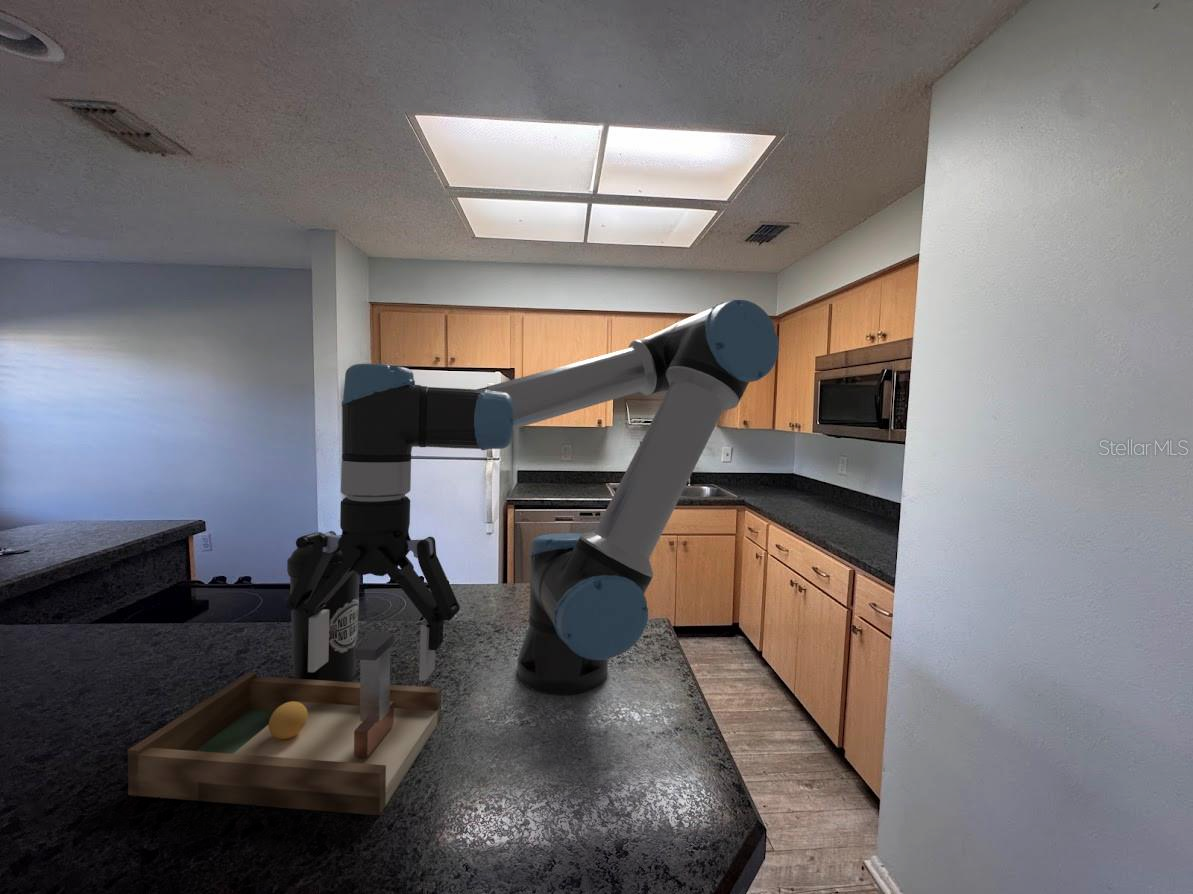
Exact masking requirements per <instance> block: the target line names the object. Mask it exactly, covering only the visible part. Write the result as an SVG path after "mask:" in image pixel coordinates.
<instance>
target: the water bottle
mask: <svg viewBox="0 0 1193 894" xmlns="http://www.w3.org/2000/svg"><path fill="white" fill-rule="evenodd" d="M321 534H324V533H323V532H321V531H318V532H313V533H309V534H306V535H302V536H300V537H298V538H297V539H296V541H295V545H296V549H294V551H293V552H292V554H291V555H290V557H288V559H287V561H286V562H287V563H286V564H287V565H286V568H287V571H286V572H287V576H289V583H290V584H289V585H290V595H291V594H292V592H293V590H294V588H295V586H296V584H297V582H298V580H299V578H300V576H301V574H302V572H303V570H304V569H305V567H306V565H307V563H308V561H309V559H310V557H311V555H312V552H313V545H314V539H315V537H316V536H318V535H321ZM338 535H339V536H341V535H342V534H338ZM344 559H345V557H344V555H343V554H342V552H341V551H340V549H339V547H338V548H337V550H336V551H334V553H333V555H332V557H331V559H330V561H329V563H328V565H327V567H326V569H325V571H324V573H323V575H322V577H321V579H320V580H319V582H318V584H317V586H316V588H315V590H314V592H313V594H312V596H313V595H314V594H315V593H316V592H317V591H318V589H319V588H320V587H321V586H322V585H323V584H324V583H325V582H326V580H327V579H328V578H329V577H330V576H331V575H332V574H333V573H334V570H335V569H336V568H337V566H338V565H339V564H340V563H341V562H342V561H343V560H344ZM359 594H360V575H358V573H357V572H354V573H353V574H352V575H351V576H350V577H349V578H348V579H347V580H346V582H345V583H344V584H343V585H342V586H341V587H340V588H339V589H338V590H337V592H336V593H335V594H334V595H333V596H332V597H331V598H330V599H329V601H328V602H327V603H326V604H325V605H326V606H324V607H323V608H321V611H322V610H329V657H328V662H327V663H325V664H324V665H323V666H322V667H320V668H319V669H318V670H316V671H315V672H308V641H304V639H303V616H302V614H301V612H299V611H297V610H295V609H294V610H290V612H291V613H290V614H291V615H290V616H291V640H292V641H291V644H292V671H293V672H292V674H293V679H309V680H324V681H340V682H352V680H353V679H354V678H355V676H356V671H357V669H356V668H357V659H355V649H356V648H358V647H357V646H358V645H357V644H358V631H359V630H358V627H359V626H358V625H359V609H360V608H359V605H360V604H359V603H360V601H359V600H360V599H359V597H360V595H359ZM312 596H311V597H312Z"/></svg>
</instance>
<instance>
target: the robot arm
mask: <svg viewBox="0 0 1193 894" xmlns="http://www.w3.org/2000/svg"><path fill="white" fill-rule="evenodd" d="M775 328H776V326H775V324H774V322H773V320H772V319H771V317H770V315H769V314H768V313H767V312H766V311H765V310H764V309H763V308H762V306H761V307H760V306H759V305H758V304H756V303H755V302H752V301H750V300H746V299H732V300H730V301H725V302H723V301H722V302H719V303H717V304H715V305H713V306H712V307H711V308H709V309H707V310H704V311H701V312H699V313H696V314H695V315H691V316H689V317H687V318H684V319H682V320H679V321H678V322H676V323H674V324H672V325H671V326H669V327H666V328H664V329H662V330H660V331H658V332H655V333H653V334H651V335H649V336H646V337H642V338H638V339H635V340H633V341H631V342H630V344H629V345H628V348H625V349H621V350H617V351H614V352H610V353H607V354H603V355H598V356H596V357H592V358H589V359H584V360H580V361H577V362H574V363H569V364H567V365H566V364H565V365H561V366H558V367H555V368H554V367H553V368H552V369H551V368H550V369H547V370H544V371H541V372H536V373H532V374H528V375H525V376H522V377H521V376H520V377H518V378H513V379H511V380H507V381H503V382H499V383H495V384H492V385H489V386H486V387H481V388H477V389H474V388H458V387H457V388H456V387H438V386H437V387H435V386H434V387H433V386H427V385H426V386H425V385H421V384H420V385H419V384H416V381H415V378H414V373H413V371H412V370H411V369H409V368H407V367H403V366H399V365H389V364H379V363H357V364H353V365H350V366H349V368H347V369H346V371H345V374H344V386H343V387H344V388H343V399H342V401H341V406H342V409H341V411H342V412H341V413H342V414H341V416H342V417H341V419H342V420H341V421H342V425H341V426H342V427H341V428H342V430H341V434H342V435H341V437H342V439H341V440H342V441H341V442H342V443H341V445H342V446H341V447H342V448H341V449H342V450H341V453H342V454H341V468H340V469H341V473H340V474H341V475H340V493H341V494H342V495H344V496H346V497H344V498H343V499H342V500H341V501H340V515H339V516H340V520H339V521H340V522H339V523H340V524H339V525H340V526H339V527H340V529H341V530H342V533H341V534H337V533H336V532H335V531H333V530H330V531H326V532H324V533H323V534H321V535H318V536H316V537H315V539H314V545H313V552H312V555H311V557H310V559H309V561H308V563H307V565H306V567H305V569H304V570H303V572H302V574H301V576H300V578H299V580H298V582H297V584H296V586H295V588H294V590H293V592H292V594H291V593H290V595H289V597H288V600H287V602H286V605H285V606H286V609H287V610H288V611H291V610H294V609H295V610H297V611H299V612H301V614H302V616H303V639H304V641H308V672H315V671H316V670H318V669H319V668H320V667H322V666H323V665H324V664H325V663H327V662H328V657H329V610H322V611H321V608H323V607H324V606H326V605H325V604H326V603H327V602H328V601H329V599H330V598H331V597H332V596H333V595H334V594H335V593H336V592H337V590H338V589H339V588H340V587H341V586H342V585H343V584H344V583H345V582H346V580H347V579H348V578H349V577H350V576H351V575H352V574H353V573H354V572H357V573H358V575H359V576H361V575H362V576H366V575H373V576H375V577H384V576H386V575H388V577H389V578H390V579H391V580H392V581H393V582H395V583H396V584H398V585H399V587H400V588H401V589H402V591H403V593H405V594H406V596H407V597H408V598H409V600H410V601H411V603H412V604H413V605H414V607H415V608H416V609H417V610H418V612H419V613H420V615H422V617H423V618H424V619H425V621H424V622H423V623H422V624H421V625H420V630H419V631H420V632H419V636H420V637H419V639H420V640H419V666H418V667H419V669H418V672H419V673H418V674H419V675H418V676H419V677H418V680H419V681H421V682H422V681H423V682H424V681H425V682H426V681H427V679H428V678H429V677H430V676H431V675H432V673H433V672H434V671H435V670H436V651H437V650H438V649H439V648H440V647H441V646H442V644H443V642H444V622H445V621H447V622H448V621H449V622H450V621H451V620H452V619H453V618H454V617H455V616H456V615H457V614H458V612H460V608H461V606H460V604H459V602H458V600H457V598H456V595H455V593H454V591H453V589H452V586H451V585H450V582H449V580H448V578H447V575H446V573H445V571H444V569H443V567H442V565H441V562H440V560H439V558H438V556H437V546H436V545H437V544H436V539H435V537H433V536H428V537H425V538H423V539H411V537H410V533H409V530H410V525H411V499H410V498H409V497H408V496H406V495H407V494H409V493H410V492H411V483H412V478H411V477H412V449H413V448H415V447H416V448H417V447H418V448H442V449H470V450H471V449H472V450H473V449H475V450H481V451H487V450H500V449H501V450H503V449H505V448H507V447H509V446H510V443H511V442H512V438H513V432H514V430H516V429H520V428H522V427H525V426H529V425H532V424H535V423H539V422H543V421H545V420H549V419H552V418H556V417H560V416H562V415H566V414H569V413H572V412H576V411H580V410H583V409H586V408H589V407H593V406H597V405H599V404H603V403H606V402H609V401H613V400H616V399H619V398H623V397H626V396H629V395H634V394H636V393H641V394H642V395H644V396H650V395H654V394H656V393H660V392H665V391H666V394H665V395H664V397H663V399H662V401H661V403H660V405H659V407H658V409H657V410H656V412H655V414H654V416H653V418H652V419H651V423H650V424H649V425H648V428H647V430H646V432H645V434H644V436H643V438H642V440H641V442H640V443H639V446H638V448H637V449H636V451H635V453H634V455H633V456H632V459H631V461H630V462H629V465H628V467H627V468H626V471H624V475H623V477H622V478H621V480H620V482H619V485H618V486H617V488H616V490H615V492H614V493H613V496H612V497H611V500H610V501H609V504H608V506H607V508H606V509H605V511H604V513H603V515H602V517H601V519H600V521H599V523H598V525H597V526H596V528H595V529H594V530H593V531H589V532H587V533H584V532H583V533H579V532H578V533H577V532H568V533H565V532H561V533H550V534H549V533H548V534H543V535H538V536H536V537H535V538H533V540H532V541H531V544H530V552H529V559H530V560H529V561H530V565H529V566H530V567H529V569H530V571H529V613H528V614H529V620H528V621H529V622H528V628H527V630H526V634H525V636H524V639H523V642H522V645H521V647H520V650H519V653H518V657H517V676H518V679H519V680H520V681H521V683H523V685H525V686H527V687H528V688H529V689H532V690H534V691H536V692H540V693H544V694H547V695H548V694H549V695H561V696H562V695H575V694H579V693H584V692H587V691H589V690H593V689H594V688H596V687H597V686H599V685H601V684H602V683H603V682H604V681H605V679H606V678H607V675H608V671H609V670H608V667H609V666H608V665H609V662H608V661H609V660H610V659H612V658H614V657H616V656H621V655H623V654H624V653H626V652H628V651H629V650H630V649H631V648H632V647H634V645H635V644H636V643H637V642H638V641H639V640H640V638H641V637H642V636H643V634H644V631H645V629H646V627H647V624H648V621H649V620H648V619H649V608H648V602H647V598H646V596H645V593H646V591H647V589H648V587H649V585H650V583H651V581H652V579H653V577H654V571H653V568H652V565H651V561H650V559H651V556H652V554H653V551H654V550H655V548H656V546H657V544H658V542H659V541H660V538H661V535H662V534H663V531H664V530H665V529H666V526H667V524H668V522H669V520H670V518H671V516H672V514H673V512H674V510H675V508H676V506H677V504H678V502H679V500H680V498H681V496H682V494H683V491H684V490H685V488H686V485H687V484H688V482H689V480H690V478H691V476H692V474H693V472H694V470H695V468H696V465H697V464H698V462H699V460H700V458H701V456H702V454H703V452H704V450H705V448H706V446H707V444H708V441H709V440H710V438H711V436H712V433H713V432H714V430H715V428H716V425H717V423H718V422H719V419H720V417H722V416H721V415H722V414H723V412H725V411H729V410H733V409H736V407H737V406H738V405H739V403H740V401H741V399H742V397H743V395H744V393H745V392H746V389H747V387H748V385H749V384H750V383H752V382H757V381H759V380H762V378H764V377H766V376H767V375H768V374H769V373H770V372H771V371H772V369H773V368H774V366H775V364H776V362H777V359H778V354H779V335H778V334H777V333H776V330H775ZM339 535H341V536H339ZM338 547H339V549H340V551H341V552H342V554H343V555H344V557H345V559H344V560H343V561H342V562H341V563H340V564H339V565H338V566H337V568H336V569H335V570H334V573H333V574H332V575H331V576H330V577H329V578H328V579H327V580H326V582H325V583H324V584H323V585H322V586H321V587H320V588H319V589H318V591H317V592H316V593H315V594H314V595H313V596H312V594H313V592H314V590H315V588H316V586H317V584H318V582H319V580H320V579H321V577H322V575H323V573H324V571H325V569H326V567H327V565H328V563H329V561H330V559H331V557H332V555H333V553H334V551H336V550H337V548H338ZM410 551H411V552H412V553H413V558H417V562H418V565H419V567H420V570H421V573H422V574H423V577H424V578H425V581H426V584H427V585H428V586H427V585H426V584H425V583H424V581H423V580H422V579H421V577H420V576H419V575H418V573H417V572H416V571H415V569H414V568H415V567H414V565H413V563H412V562H411V560H410V559H409V558H408V556H407V555H409V552H410ZM311 596H312V597H311Z"/></svg>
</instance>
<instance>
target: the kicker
mask: <svg viewBox="0 0 1193 894" xmlns="http://www.w3.org/2000/svg"><path fill="white" fill-rule="evenodd" d="M393 645H395V633H384V632H375V633H374V634H373V635H371V636H370V637H368V639H366V640H365V641H364V642H363V643H361V644H360V645H359V646H358V647H357V648H356V649H355V659H356V661H357V660H358V661H359V660H360V661H359V662H360V663H359V677H360V678H359V683H360V721H363V722H362V723H361V724H360V725H359V726H358V727H357V729H356V730H355V731H354V756H356V757H368V756H369V755H370V753H371V752H372V751H373V750H374V748H375V747H376V746H377V745H378V743H379V742H380V741H381V740H382V738H383V737H384V736H385V734H386V733H387V732H388V731H389V729H390V728H391V727H392V726H393V720H394V701H390V685H391V647H392V646H393Z"/></svg>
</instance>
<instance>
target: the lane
mask: <svg viewBox="0 0 1193 894" xmlns="http://www.w3.org/2000/svg"><path fill="white" fill-rule="evenodd" d="M292 701H295V702H299V703H301V704H303V705H304V706H305V707H306V709H307V713H308V717H307V721H306V724H305V726H304V727H303V729H302V730H301V731H300V732H299V733H298V734H296V735H295V736H293V737H291V738H288V739H278V738H276V737H274V736H273V735H272V734H271V733H270V731H269V720H270V717H271V715H272V714H273V712H274V711H275V710H276V709H277V708H278V707H279V706H281V705H283V704H285V703H287V702H292ZM390 701H394V720H393V726H392V727H391V728H390V729H389V731H388V732H387V733H386V734H385V736H384V737H383V738H382V740H381V741H380V742H379V743H378V745H377V746H376V747H375V748H374V750H373V751H372V752H371V753H370V755H369V756H368V757H356V756H354V731H355V730H356V729H357V727H358V726H359V725H360V724H361V723H362V722H363V721H360V682H355V681H353V682H352V681H350V682H340V681H324V680H309V679H294V677H293V678H292V677H291V678H290V677H289V678H288V677H275V676H259V675H258V673H257V672H250V671H249V672H247V673H245V674H244V675H242V676H241V677H239V678H237V679H236V680H234V681H233V682H232V683H230V684H228V685H226V686H225V687H223V688H222V689H220V690H218V691H217V692H216V693H214V694H213V695H211V696H209V697H207V698H206V699H205V700H203V701H202V702H200V703H199V704H197V705H195V706H194V707H192V708H191V709H189V710H187V711H186V712H185V713H182V714H181V715H180V716H179V717H176V718H175V719H174V720H172V721H171V722H169V723H167V724H166V725H165V726H163V727H161V728H159V729H158V730H156V731H155V732H153V733H152V734H150V735H149V736H147V737H146V738H144V739H142V740H141V741H139V742H138V743H136V744H135V745H133V746H131V747H130V748H128V749H127V783H128V784H127V785H128V786H127V787H128V789H127V791H128V792H127V793H128V796H133V797H134V796H137V797H147V798H159V797H160V799H172V800H173V799H174V800H183V801H185V800H186V801H194V802H195V801H196V802H211V803H221V804H222V803H223V804H234V805H235V804H236V805H245V806H246V805H247V806H257V807H258V806H259V807H271V808H283V809H294V810H306V811H320V812H321V811H322V812H331V813H332V812H333V813H344V814H355V815H357V814H358V815H369V816H381V814H382V813H383V812H384V809H385V808H386V806H387V805H388V803H389V801H390V800H391V798H392V797H393V795H394V793H395V792H396V790H397V789H398V787H399V786H400V785H401V783H402V781H403V779H404V778H405V777H406V774H407V773H408V772H409V770H410V768H411V767H412V766H413V763H414V762H415V760H416V759H417V757H418V756H419V755H420V753H421V751H422V750H423V748H424V747H425V745H426V744H427V742H428V740H429V738H430V737H431V735H432V734H433V733H434V731H435V730H436V728H437V726H438V725H439V723H440V721H441V719H442V718H441V717H442V687H433V686H416V685H399V684H390Z"/></svg>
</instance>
